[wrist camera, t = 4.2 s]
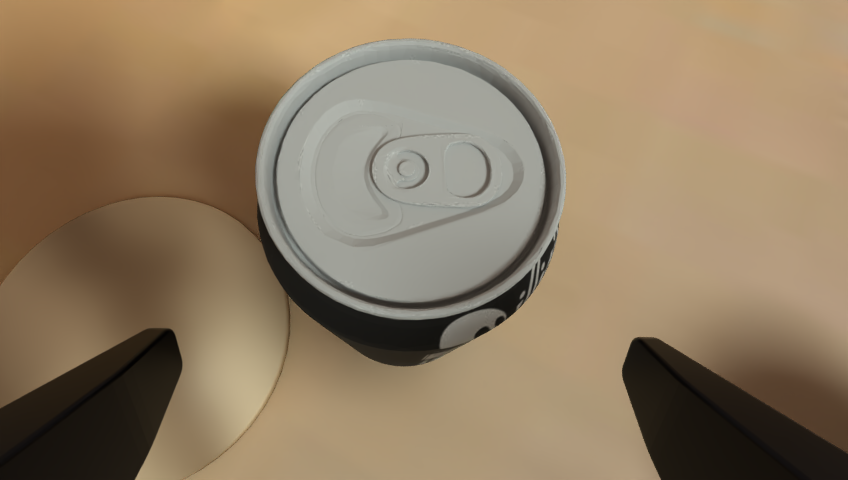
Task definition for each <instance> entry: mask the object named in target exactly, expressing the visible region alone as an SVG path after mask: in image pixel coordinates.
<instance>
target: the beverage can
mask: <svg viewBox="0 0 848 480" xmlns="http://www.w3.org/2000/svg"><path fill="white" fill-rule="evenodd" d="M255 171H256V191H257V197H258V206H257V219H258V226H259V232H260V237H261V242H262V246H263V249H264V252H265V255H266V258H267V261H268V263H269V265H270V267H271V269H272V271H273V273H274V275H275V276H276V278H277V280H278V281H279V283H280V284H281V286H282V287H283V289H284V290H285V292H286V293H287V294H288V295H289V296H290V298H291V299H292V300H293V301H294V302H295V303H296V304H297V305H298V306H299V307H300V308H301V309H302V310H303V311H304V312H305V313H306V314H308V315H309V316H310V317H311V318H312V319H314V320H315V321H317V322H318V323H319V324H321V325H322V326H324V327H325V328H326V329H328V330H329V331H331V332H332V333H333V334H335V335H336V336H338V337H339V338H340V339H342V340H343V341H345V342H346V343H347V344H349V345H350V346H352V347H353V348H354V349H356V350H357V351H359V352H360V353H361V354H363V355H365V356H366V357H368V358H370V359H372V360H375V361H377V362H380V363H384V364H388V365H393V366H415V365H420V364H424V363H428V362H431V361H433V360H435V359H438V358H440V357H442V356H443V355H445V354H447V353H449V352H451V351H453V350H455V349H457V348H458V347H460V346H462V345H464V344H466V343H468V342H470V341H471V340H473V339H475V338H477V337H479V336H481V335H483V334H485V333H486V332H488V331H490V330H491V329H493V328H495V327H496V326H498V325H499V324H501V323H502V322H504V321H505V320H506V319H507V318H509V317H510V316H511V315H512V314H514V313H515V312H516V311H517V310H518V309H519V308H520V307H521V306H522V305H523V304H524V302H525V301H526V300H527V299H528V298H529V297H530V295H531V294H532V293H533V291H534V290H535V289H536V287H537V286H538V284H539V283H540V281H541V279H542V277H543V276H544V274H545V272H546V270H547V268H548V265H549V263H550V260H551V258H552V255H553V252H554V248H555V244H556V240H557V235H558V227H559V220H560V217H561V214H562V211H563V206H564V200H565V191H566V171H565V161H564V156H563V152H562V149H561V145H560V141H559V138H558V136H557V134H556V131H555V129H554V126H553V124H552V122H551V120H550V119H549V117H548V115H547V113H546V112H545V110H544V108H543V107H542V106H541V104H540V103H539V102H538V100H537V99H536V97H535V96H534V95H533V94H532V93H531V92H530V91H529V90H528V89H527V88H526V87H525V86H524V85H523V84H522V82H520V81H519V80H518V79H517V78H516V77H514V76H513V75H512V74H511V73H509V72H508V71H507V70H506V69H504V68H503V67H501V66H500V65H498V64H497V63H495V62H493V61H491V60H490V59H488V58H486V57H484V56H482V55H480V54H478V53H475V52H472V51H470V50H467V49H465V48H462V47H459V46H456V45H452V44H448V43H444V42H439V41H433V40H426V39H390V40H382V41H377V42H371V43H366V44H363V45H359V46H356V47H353V48H350V49H348V50H345V51H343V52H340V53H338V54H336V55H334V56H332V57H330V58H328V59H326V60H324V61H323V62H321V63H319V64H318V65H316V66H315V67H313V68H312V69H311V70H310V71H308V72H307V73H306V74H305V75H303V76H302V77H301V78H300V79H298V80H297V81H296V83H295V84H294V85H293V86H292V87H291V88H290V89H289V90H288V91H287V92H286V93H285V94H284V95H283V97H282V98H281V99H280V101H279V102H278V104H277V106H276V107H275V109H274V110H273V112H272V114H271V115H270V117H269V119H268V122H267V124H266V126H265V128H264V131H263V134H262V137H261V139H260V144H259V148H258V152H257V158H256V165H255Z"/></svg>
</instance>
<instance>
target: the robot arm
mask: <svg viewBox="0 0 848 480" xmlns="http://www.w3.org/2000/svg"><path fill="white" fill-rule="evenodd" d="M182 367H183V361H182V357H181V353H180V350H179V346H178V342H177V339H176V335H175V333H174V331H173V330H172V329H170V328H147V329H145V330H143V331H141V332H139V333H138V334H136V335H134V336H132V337H130V338H128V339H127V340H125V341H123V342H121V343H119V344H117V345H116V346H114V347H112V348H110V349H108V350H106V351H104V352H103V353H101V354H99V355H97V356H95V357H93V358H92V359H90V360H88V361H86V362H84V363H82V364H81V365H79V366H77V367H75V368H73V369H71V370H69V371H68V372H66V373H64V374H62V375H60V376H58V377H57V378H55V379H53V380H51V381H49V382H47V383H46V384H44V385H42V386H40V387H38V388H36V389H34V390H33V391H31V392H29V393H27V394H25V395H23V396H22V397H20V398H18V399H16V400H14V401H12V402H11V403H9V404H7V405H5V406H3V407H1V408H0V480H135V479H136V477H137V475H138V473H139V471H140V469H141V467H142V466H143V464H144V462H145V460H146V458H147V456H148V454H149V452H150V449H151V447H152V445H153V443H154V440H155V438H156V436H157V433H158V430H159V428H160V425H161V423H162V420H163V418H164V415H165V413H166V410H167V408H168V405H169V403H170V400H171V398H172V395H173V393H174V390H175V388H176V385H177V383H178V380H179V378H180V375H181V372H182ZM622 377H623V381H624V384H625V387H626V390H627V393H628V396H629V398H630V401H631V404H632V407H633V410H634V413H635V416H636V419H637V421H638V424H639V427H640V430H641V433H642V436H643V439H644V441H645V444H646V447H647V449H648V452H649V454H650V456H651V459H652V461H653V463H654V466H655V468H656V470H657V472H658V474H659V476H660V479H661V480H848V453H846V452H844V451H843V450H841V449H840V448H838V447H836V446H835V445H833V444H831V443H830V442H828V441H826V440H825V439H823V438H821V437H820V436H818V435H816V434H815V433H813V432H811V431H810V430H808V429H806V428H805V427H803V426H802V425H800V424H798V423H797V422H795V421H793V420H792V419H790V418H788V417H787V416H785V415H783V414H782V413H780V412H778V411H777V410H775V409H773V408H772V407H770V406H768V405H767V404H765V403H763V402H762V401H760V400H759V399H757V398H755V397H754V396H752V395H750V394H749V393H747V392H745V391H744V390H742V389H740V388H739V387H737V386H735V385H734V384H732V383H730V382H729V381H727V380H725V379H724V378H722V377H720V376H719V375H717V374H716V373H714V372H712V371H711V370H709V369H707V368H706V367H704V366H702V365H701V364H699V363H697V362H696V361H694V360H692V359H691V358H689V357H687V356H686V355H684V354H683V353H681V352H679V351H678V350H676V349H674V348H673V347H671V346H669V345H668V344H666V343H664V342H663V341H661V340H659V339H657V338H654V337H637V338H634V339H633V340H632V342H631V344H630V347H629V350H628V353H627V356H626V359H625V362H624V364H623V368H622Z"/></svg>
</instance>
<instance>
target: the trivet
mask: <svg viewBox="0 0 848 480" xmlns="http://www.w3.org/2000/svg"><path fill="white" fill-rule="evenodd" d="M147 328H170V329H172V330H173V331H174V333H175V335H176V339H177V342H178V346H179V350H180V353H181V357H182V361H183V367H182V372H181V375H180V378H179V380H178V383H177V385H176V388H175V390H174V393H173V395H172V398H171V400H170V403H169V405H168V408H167V410H166V413H165V415H164V418H163V420H162V423H161V425H160V428H159V430H158V433H157V436H156V438H155V440H154V443H153V445H152V447H151V449H150V452H149V454H148V456H147V458H146V460H145V462H144V464H143V466H142V467H141V469H140V471H139V473H138V475H137V477H136V479H135V480H183V479H185V478H186V477H188V476H190V475H192V474H194V473H196V472H198V471H200V470H201V469H203V468H204V467H206V466H207V465H209V464H210V463H211V462H213V461H214V460H216V459H217V458H219V457H220V456H221V455H222V454H223V453H224V452H226V451H227V450H228V449H229V448H230V447H231V446H232V445H234V444H235V443H236V442H237V441H238V440H239V439H240V438H241V436H242V435H243V434H244V433H245V432H246V431H247V430H248V429H249V428H250V426H251V425H252V424H253V423H254V421H255V420H256V418H257V417H258V416H259V414H260V413H261V411H262V410H263V409H264V407H265V405H266V403H267V402H268V400H269V398H270V396H271V394H272V393H273V391H274V389H275V386H276V384H277V381H278V379H279V377H280V374H281V372H282V369H283V365H284V361H285V358H286V354H287V349H288V342H289V335H290V309H289V301H288V295H287V293H286V292H285V290H284V289H283V287H282V286H281V284H280V283H279V281H278V280H277V278H276V276H275V275H274V273H273V271H272V269H271V267H270V265H269V263H268V261H267V258H266V255H265V252H264V249H263V246H262V243H261V242H260V241H259V240H258V239H257V238H256V237H255V236H254V235H253V234H252V233H251V232H250V231H249V230H248V229H247V228H246V227H245V226H243V225H242V224H241V223H240V222H239V221H237V220H236V219H234V218H233V217H231V216H229V215H228V214H226V213H224V212H222V211H220V210H218V209H216V208H214V207H212V206H209V205H206V204H203V203H200V202H197V201H192V200H187V199H182V198H173V197H144V198H136V199H130V200H124V201H120V202H117V203H113V204H109V205H106V206H103V207H100V208H98V209H95V210H93V211H90V212H88V213H85V214H83V215H81V216H79V217H77V218H76V219H74V220H72V221H70V222H68V223H66V224H65V225H63V226H62V227H60V228H59V229H57V230H56V231H54V232H52V233H51V234H50V235H48V236H47V237H46V238H45V239H43V240H42V241H41V242H40V243H38V244H37V245H36V246H35V247H34V248H33V249H31V250H30V251H29V252H28V253H27V254H26V255H25V256H24V257H23V258H22V259H21V260H20V261H19V262H18V264H17V265H16V266H15V267H14V268H13V270H12V271H11V272H10V273H9V275H8V276H7V277H6V278H5V280H4V281H3V283H2V284H1V286H0V408H1V407H3V406H5V405H7V404H9V403H11V402H12V401H14V400H16V399H18V398H20V397H22V396H23V395H25V394H27V393H29V392H31V391H33V390H34V389H36V388H38V387H40V386H42V385H44V384H46V383H47V382H49V381H51V380H53V379H55V378H57V377H58V376H60V375H62V374H64V373H66V372H68V371H69V370H71V369H73V368H75V367H77V366H79V365H81V364H82V363H84V362H86V361H88V360H90V359H92V358H93V357H95V356H97V355H99V354H101V353H103V352H104V351H106V350H108V349H110V348H112V347H114V346H116V345H117V344H119V343H121V342H123V341H125V340H127V339H128V338H130V337H132V336H134V335H136V334H138V333H139V332H141V331H143V330H145V329H147Z"/></svg>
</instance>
